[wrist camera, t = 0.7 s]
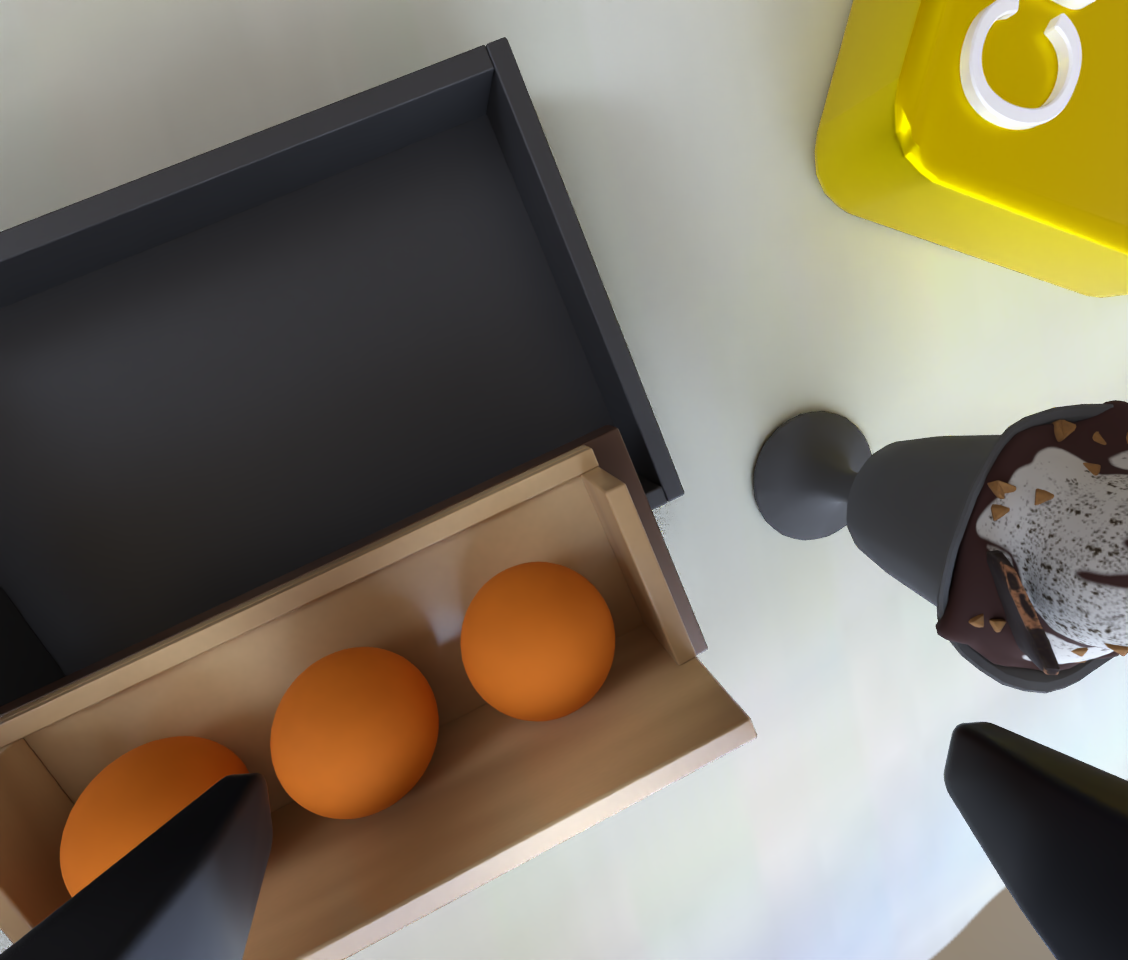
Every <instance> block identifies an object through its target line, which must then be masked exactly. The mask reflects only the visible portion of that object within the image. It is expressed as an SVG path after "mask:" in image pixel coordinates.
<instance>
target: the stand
mask: <svg viewBox="0 0 1128 960" xmlns="http://www.w3.org/2000/svg"><path fill="white" fill-rule="evenodd" d="M582 445H586V446H588V447H590V448H592V450H593V452H594V455H595V457H596V459H597V462H598V464H599V466H598V467H600V468H602V469H603V470H605V471H606V472H608V473H609V474H611V475H612V476H614V477H616V478H617V479H619V480H620V481H622V482H623V483H625V484H626V486H627V489H628V491H629V494H630V496H631V498H632V501H633V503H634V506H635V508H636V510H637V513H638V515H639V518H640V520H641V522H642V525H643V527H644V530H645V532H646V535H647V537H648V539H649V542H650V544H651V547H652V549H653V551H654V554H655V556H656V559H657V561H658V563H659V566H660V568H661V571H662V573H663V576H664V578H665V580H666V583H667V585H668V588H669V590H670V592H671V595H672V597H673V600H674V602H675V604H676V607H677V609H678V612H679V614H680V617H681V619H682V621H683V624H684V626H685V629H686V631H687V633H688V636H689V638H690V641H691V643H692V646H693V648H694V650H695V653H696V655H698V654H700V653H702V652H704V651H706V650H707V649H708V647H707V644H706V642H705V639H704V637H703V635H702V632H701V630H700V627H699V625H698V622H697V620H696V617H695V615H694V613H693V610H692V608H691V605H690V603H689V600H688V598H687V595H686V593H685V590H684V588H683V586H682V583H681V581H680V578H679V576H678V573H677V571H676V568H675V566H674V564H673V561H672V559H671V556H670V554H669V551H668V549H667V546H666V544H665V541H664V539H663V537H662V534H661V532H660V529H659V527H658V524H657V522H656V519H655V517H654V515H653V512H652V510H651V507H650V505H649V502H648V500H647V497H646V495H645V492H644V490H643V488H642V485H641V483H640V480H639V478H638V475H637V473H636V470H635V468H634V466H633V463H632V461H631V458H630V456H629V453H628V451H627V448H626V446H625V444H624V441H623V439H622V436H621V434H620V431H619V429H618V428H617V427H614V426H611V425H605V426H603V427H601V428H599V429H597V430H594V431H592V432H590V433H588V434H586V435H584V436H582V437H579V438H577V439H575V440H573V441H571V442H569V443H566V444H564V445H562V446H560V447H558V448H556V449H554V450H551V451H549V452H547V453H545V454H543V455H541V456H538V457H536V458H534V459H532V460H530V461H528V462H526V463H523V464H521V465H519V466H517V467H515V468H513V469H511V470H508V471H506V472H504V473H502V474H500V475H498V476H495V477H493V478H491V479H489V480H487V481H485V482H483V483H480V484H478V485H476V486H474V487H472V488H470V489H468V490H465V491H463V492H461V493H459V494H457V495H455V496H452V497H450V498H448V499H446V500H444V501H442V502H440V503H437V504H435V505H433V506H431V507H429V508H427V509H425V510H422V511H420V512H418V513H416V514H414V515H412V516H409V517H407V518H405V519H403V520H401V521H399V522H397V523H394V524H392V525H390V526H388V527H386V528H384V529H382V530H379V531H377V532H375V533H373V534H371V535H369V536H366V537H364V538H362V539H360V540H358V541H356V542H354V543H351V544H349V545H347V546H345V547H343V548H341V549H339V550H336V551H334V552H332V553H330V554H328V555H326V556H323V557H321V558H319V559H317V560H315V561H313V562H311V563H308V564H306V565H304V566H302V567H300V568H298V569H295V570H293V571H291V572H289V573H287V574H285V575H283V576H280V577H278V578H276V579H274V580H272V581H270V582H268V583H265V584H263V585H261V586H259V587H257V588H255V589H252V590H250V591H248V592H246V593H244V594H242V595H240V596H237V597H235V598H233V599H231V600H229V601H227V602H225V603H222V604H220V605H218V606H216V607H214V608H212V609H209V610H207V611H205V612H203V613H201V614H199V615H197V616H194V617H192V618H190V619H188V620H186V621H184V622H182V623H179V624H177V625H175V626H173V627H171V628H169V629H166V630H164V631H162V632H160V633H158V634H156V635H154V636H151V637H149V638H147V639H145V640H143V641H141V642H139V643H136V644H134V645H132V646H130V647H128V648H126V649H123V650H121V651H119V652H117V653H115V654H113V655H111V656H108V657H106V658H104V659H102V660H100V661H98V662H96V663H93V664H91V665H89V666H87V667H85V668H83V669H80V670H78V671H76V672H74V673H72V674H70V675H68V676H65V677H63V678H61V679H59V680H57V681H55V682H52V683H50V684H48V685H46V686H44V687H42V688H40V689H37V690H35V691H33V692H31V693H29V694H27V695H25V696H22V697H20V698H18V699H16V700H14V701H12V702H9V703H7V704H5V705H3V706H1V707H0V718H1V717H2V716H3V715H5V714H8V713H10V712H12V711H14V710H16V709H18V708H20V707H23V706H25V705H27V704H29V703H31V702H33V701H35V700H38V699H40V698H42V697H44V696H46V695H48V694H50V693H53V692H55V691H57V690H59V689H61V688H63V687H65V686H67V685H70V684H72V683H74V682H76V681H78V680H80V679H82V678H85V677H87V676H89V675H91V674H93V673H95V672H97V671H100V670H102V669H104V668H106V667H108V666H110V665H112V664H115V663H117V662H119V661H121V660H123V659H125V658H127V657H130V656H132V655H134V654H136V653H138V652H140V651H142V650H145V649H147V648H149V647H151V646H153V645H155V644H157V643H160V642H162V641H164V640H166V639H168V638H170V637H172V636H175V635H177V634H179V633H181V632H183V631H185V630H187V629H190V628H192V627H194V626H196V625H198V624H200V623H202V622H205V621H207V620H209V619H211V618H213V617H215V616H217V615H220V614H222V613H224V612H226V611H228V610H230V609H232V608H235V607H237V606H239V605H241V604H243V603H245V602H247V601H250V600H252V599H254V598H256V597H258V596H260V595H262V594H265V593H267V592H269V591H271V590H273V589H275V588H277V587H280V586H282V585H284V584H286V583H288V582H290V581H292V580H295V579H297V578H299V577H301V576H303V575H305V574H307V573H310V572H312V571H314V570H316V569H318V568H320V567H322V566H325V565H327V564H329V563H331V562H333V561H335V560H337V559H340V558H342V557H344V556H346V555H348V554H350V553H352V552H355V551H357V550H359V549H361V548H363V547H365V546H367V545H370V544H372V543H374V542H376V541H378V540H380V539H382V538H385V537H387V536H389V535H391V534H393V533H395V532H397V531H400V530H402V529H404V528H406V527H408V526H410V525H412V524H415V523H417V522H419V521H421V520H423V519H425V518H427V517H430V516H432V515H434V514H436V513H438V512H440V511H442V510H445V509H447V508H449V507H451V506H453V505H455V504H457V503H460V502H462V501H464V500H466V499H468V498H470V497H472V496H475V495H477V494H479V493H481V492H483V491H485V490H487V489H490V488H492V487H494V486H496V485H498V484H500V483H502V482H505V481H507V480H509V479H511V478H513V477H515V476H517V475H520V474H522V473H524V472H526V471H528V470H530V469H532V468H535V467H537V466H539V465H541V464H543V463H545V462H547V461H550V460H552V459H554V458H556V457H558V456H560V455H562V454H565V453H567V452H569V451H571V450H573V449H575V448H577V447H580V446H582Z"/></svg>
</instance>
